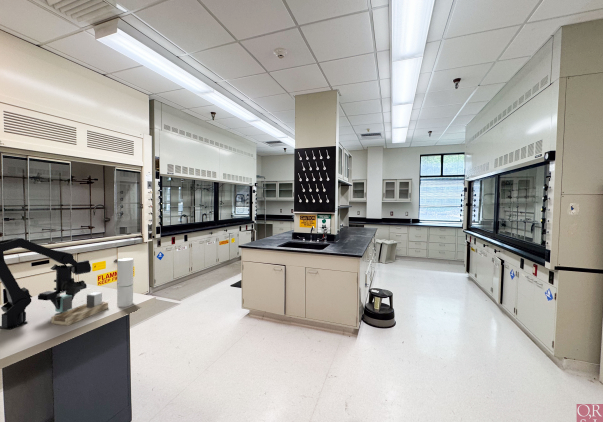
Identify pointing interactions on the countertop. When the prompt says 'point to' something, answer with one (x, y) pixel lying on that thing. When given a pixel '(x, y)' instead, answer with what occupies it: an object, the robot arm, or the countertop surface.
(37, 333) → the countertop surface
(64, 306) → the teal block
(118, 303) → the cylindrical container
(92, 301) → the grey rectangular block
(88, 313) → the wooden tray
